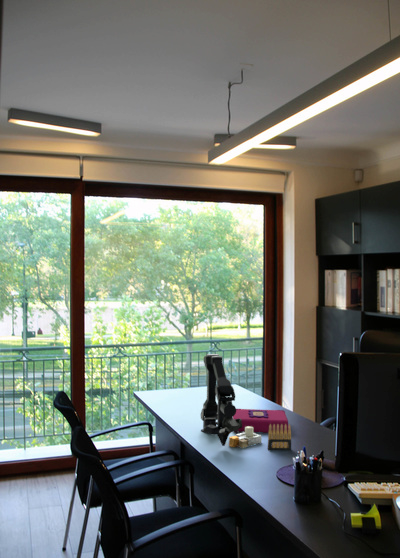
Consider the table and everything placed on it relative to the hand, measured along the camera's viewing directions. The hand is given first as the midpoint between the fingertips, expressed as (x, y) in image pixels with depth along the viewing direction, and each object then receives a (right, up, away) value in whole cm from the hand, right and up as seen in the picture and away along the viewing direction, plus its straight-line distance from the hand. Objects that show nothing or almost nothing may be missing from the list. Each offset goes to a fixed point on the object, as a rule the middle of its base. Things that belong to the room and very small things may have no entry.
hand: (223, 445), depth 244 cm
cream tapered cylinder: (+13, -2, +11) cm, 17 cm away
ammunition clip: (+26, -2, +1) cm, 26 cm away
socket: (+12, -2, +10) cm, 16 cm away
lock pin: (+8, -2, +7) cm, 10 cm away
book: (+20, -2, +35) cm, 41 cm away
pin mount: (+7, -2, +6) cm, 10 cm away
